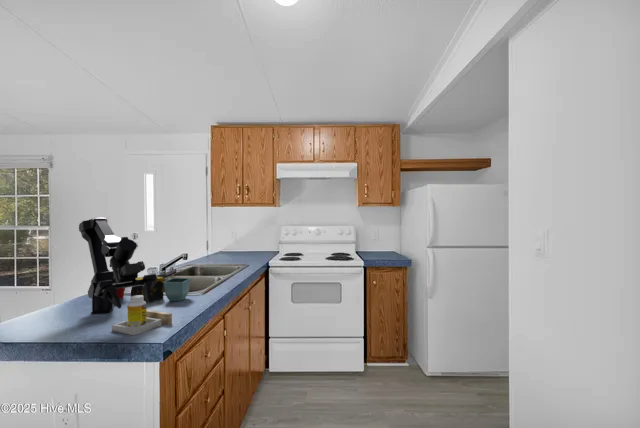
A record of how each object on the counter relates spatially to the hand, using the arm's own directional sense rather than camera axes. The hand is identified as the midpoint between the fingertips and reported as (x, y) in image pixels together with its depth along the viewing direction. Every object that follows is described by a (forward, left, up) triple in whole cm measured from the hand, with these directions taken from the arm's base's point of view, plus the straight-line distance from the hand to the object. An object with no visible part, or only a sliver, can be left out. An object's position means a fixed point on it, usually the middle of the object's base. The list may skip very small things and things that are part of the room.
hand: (135, 304), depth 115 cm
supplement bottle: (+1, -1, -7) cm, 8 cm away
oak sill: (+6, +4, -8) cm, 11 cm away
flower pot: (+11, +35, -8) cm, 37 cm away
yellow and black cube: (-2, +40, -8) cm, 41 cm away
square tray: (+1, -1, -8) cm, 8 cm away
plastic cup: (-16, +48, -8) cm, 51 cm away
